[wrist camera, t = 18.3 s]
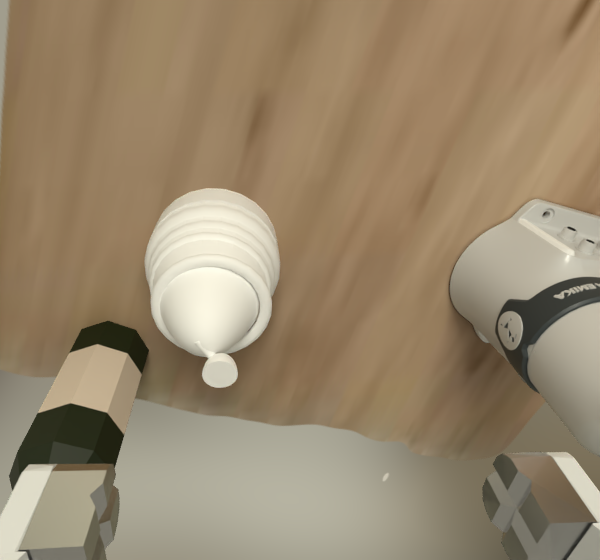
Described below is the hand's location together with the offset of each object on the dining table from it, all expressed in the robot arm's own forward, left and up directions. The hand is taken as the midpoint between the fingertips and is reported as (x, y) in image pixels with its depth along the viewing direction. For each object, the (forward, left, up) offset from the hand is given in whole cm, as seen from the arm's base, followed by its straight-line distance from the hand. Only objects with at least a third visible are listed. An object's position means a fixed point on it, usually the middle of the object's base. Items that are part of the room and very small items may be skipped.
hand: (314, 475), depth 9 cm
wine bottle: (+16, +27, -37) cm, 49 cm away
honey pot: (+4, +13, -37) cm, 40 cm away
